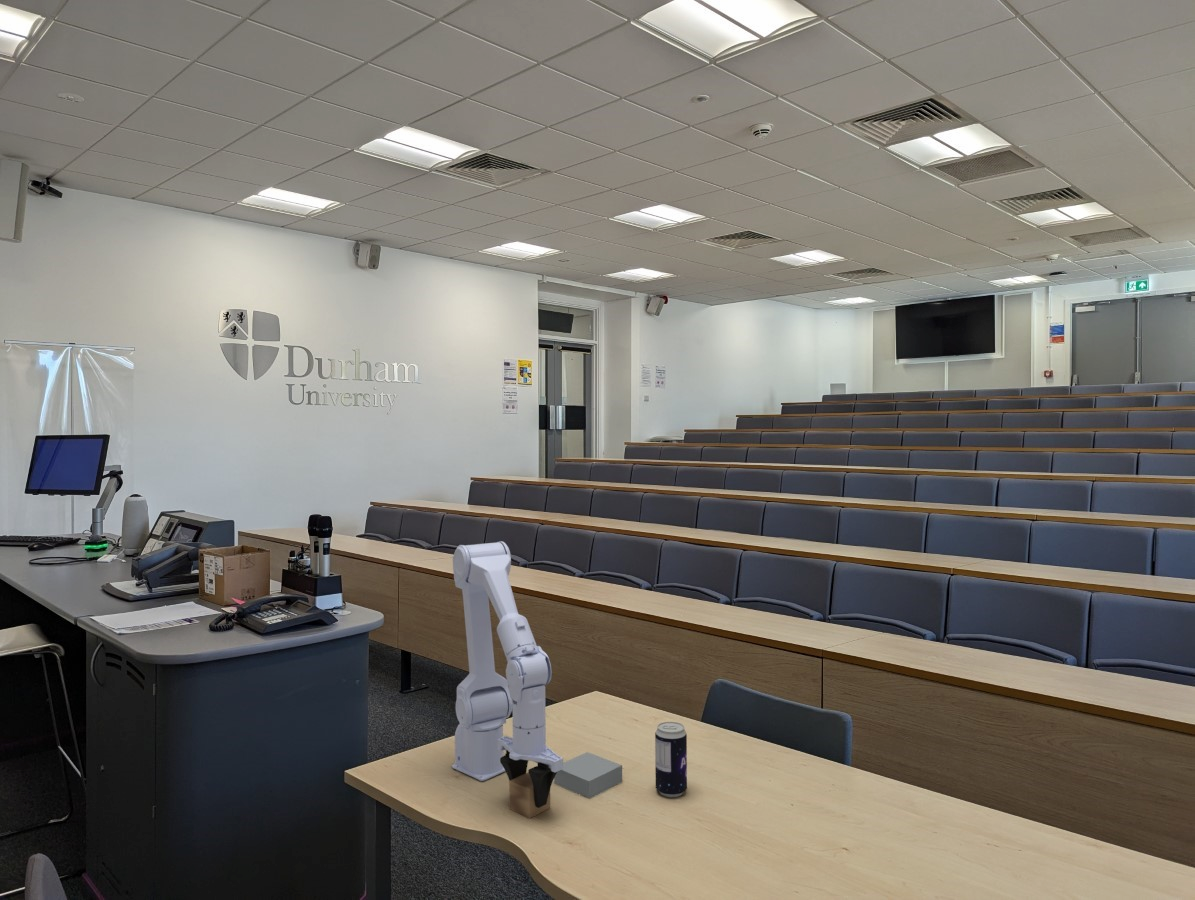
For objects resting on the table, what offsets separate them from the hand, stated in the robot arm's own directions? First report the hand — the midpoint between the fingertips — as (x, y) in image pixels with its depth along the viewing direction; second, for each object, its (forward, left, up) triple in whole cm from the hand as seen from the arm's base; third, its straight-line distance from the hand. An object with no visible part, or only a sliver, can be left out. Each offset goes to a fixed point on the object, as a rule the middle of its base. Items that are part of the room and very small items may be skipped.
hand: (529, 800), depth 136 cm
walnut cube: (0, 0, -1) cm, 1 cm away
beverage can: (+15, +21, -2) cm, 26 cm away
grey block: (+1, +14, -2) cm, 14 cm away
